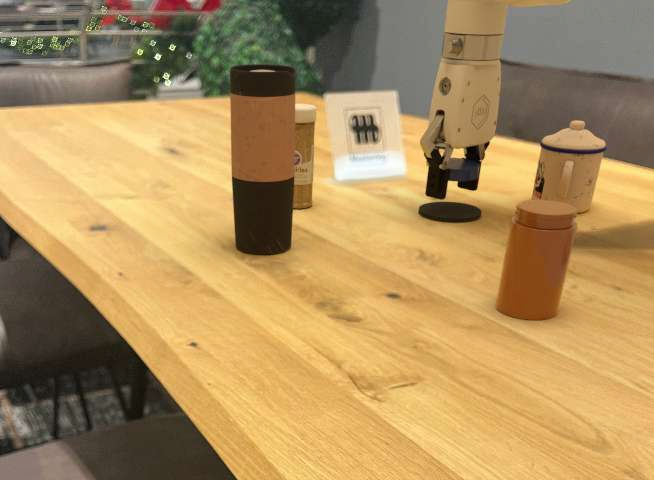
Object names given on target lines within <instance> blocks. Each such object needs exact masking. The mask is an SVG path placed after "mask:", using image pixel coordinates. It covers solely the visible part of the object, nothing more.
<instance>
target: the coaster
mask: <svg viewBox="0 0 654 480" xmlns="http://www.w3.org/2000/svg"><path fill="white" fill-rule="evenodd" d="M482 213H483V212H482V209H480V207H478V206H475V205H473V204H469V203H463V202H457V201H431V202H426V203H423V204H421V205H420V206H419V207H418V214H419V216H421V217H422V218H424V219H429V220H432V221H435V222H443V223H470V222H473V221H477V220H479V219H481V217H482Z"/></svg>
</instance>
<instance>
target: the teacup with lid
mask: <svg viewBox="0 0 654 480" xmlns="http://www.w3.org/2000/svg"><path fill="white" fill-rule="evenodd" d="M585 126H586V123H585V121H583V120H578V119H577V120H576V119H575V120H571V122H570V123H569V127H567V128H563V129H561V130H559V131H557V132H555V133H554V134H549V135H546V136H544V137H543V138H542V140H541V141H540V143H539V145H540V152H539V157H538V162H537V168H536V173H535V178H534V183H533V189H532V193H531V199H530V200H550V201H557V202H562V203H566V204H569V205H572V206H574V207H575V208H576V209H577V214H580V213H581V214H582V213H585V212H588V211H589V210H590V208H591V207H592V202H593V198H594V193H595V190H596V185H597V181H598V177H599V172H600V169H601V166H602V165H601V164H602V160H603V157H604V152H605V151H607V144H606V141H605V140H604V139H602V138H600V137H598V136H595V135H594V134H593V133H592V131H590V130H589V129H586V128H585Z"/></svg>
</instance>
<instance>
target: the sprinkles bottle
mask: <svg viewBox="0 0 654 480" xmlns="http://www.w3.org/2000/svg"><path fill="white" fill-rule="evenodd" d="M316 121H317V106H316V105H314V104H310V103H295V175H294V198H293V209H307V208H310V207H311V206H312V205H313V203H314V202H313V201H314V200H313V183H314V166H315V164H314V163H315V131H316V130H315V129H316V128H315V127H316Z"/></svg>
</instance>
